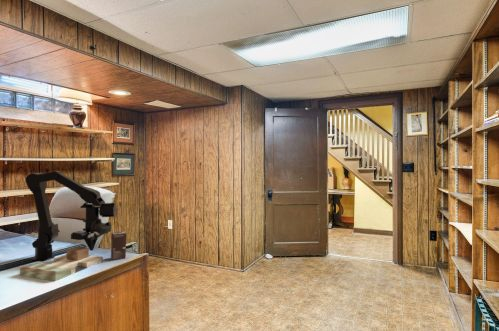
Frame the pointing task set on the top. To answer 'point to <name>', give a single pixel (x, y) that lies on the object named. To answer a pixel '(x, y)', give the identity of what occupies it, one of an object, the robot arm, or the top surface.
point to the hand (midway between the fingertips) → (91, 250)
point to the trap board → (59, 267)
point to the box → (118, 245)
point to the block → (77, 253)
